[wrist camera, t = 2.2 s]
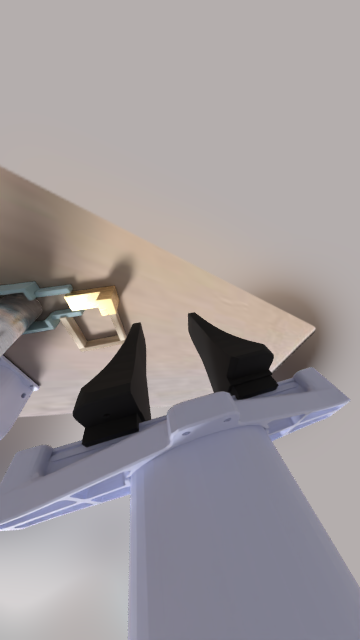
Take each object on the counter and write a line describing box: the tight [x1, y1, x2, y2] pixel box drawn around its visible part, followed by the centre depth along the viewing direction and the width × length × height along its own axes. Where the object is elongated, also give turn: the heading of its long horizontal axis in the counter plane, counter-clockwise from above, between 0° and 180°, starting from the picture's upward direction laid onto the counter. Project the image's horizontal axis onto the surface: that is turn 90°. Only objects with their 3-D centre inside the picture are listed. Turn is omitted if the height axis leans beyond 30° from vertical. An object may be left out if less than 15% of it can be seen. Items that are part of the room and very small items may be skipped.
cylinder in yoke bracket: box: [0, 293, 42, 357], centre depth 15 cm, size 4×4×8 cm
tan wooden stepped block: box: [64, 286, 119, 316], centre depth 18 cm, size 2×6×4 cm, turn 93°
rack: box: [59, 311, 127, 352], centre depth 22 cm, size 6×7×2 cm
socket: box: [0, 281, 84, 335], centre depth 17 cm, size 6×10×4 cm, turn 93°
